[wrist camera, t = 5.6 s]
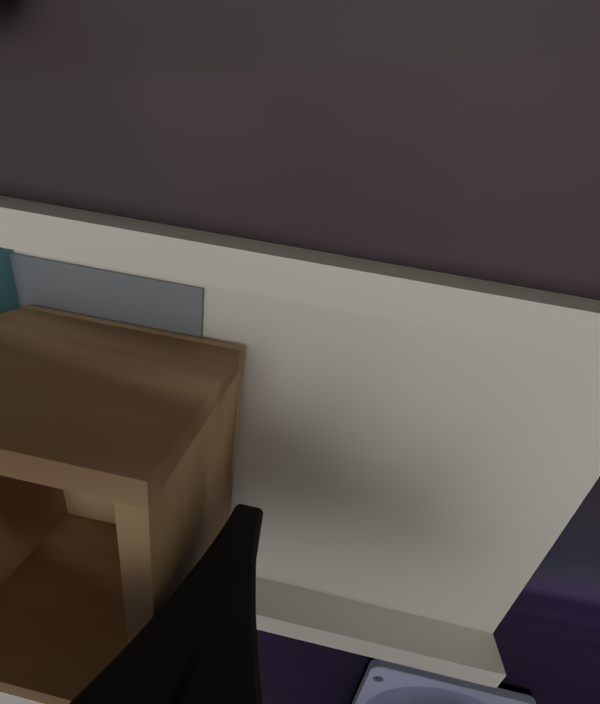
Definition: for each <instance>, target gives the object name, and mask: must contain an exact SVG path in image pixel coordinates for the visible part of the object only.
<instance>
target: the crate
mask: <svg viewBox="0 0 600 704" xmlns="http://www.w3.org/2000/svg"><path fill="white" fill-rule="evenodd" d="M244 355H245V347H244V346H238V345H233V344H228V343H223V342H218V341H213V340H208V339H203V338H197V337H192V336H187V335H182V334H177V333H172V332H167V331H161V330H156V329H151V328H146V327H141V326H136V325H131V324H126V323H120V322H115V321H110V320H105V319H100V318H95V317H90V316H85V315H79V314H74V313H69V312H64V311H59V310H54V309H49V308H43V307H38V306H33V305H26V306H23V307H20V308H17V309H14V310H10V311H7V312H4V313H1V314H0V692H4V693H8V694H11V695H15V696H19V697H22V698H26V699H30V700H33V701H37V702H41V703H45V704H69V703H70V702H71V701H72V700H73V699H74V698H75V697H76V696H77V695H78V694H79V693H80V692H81V691H82V690H84V689H85V688H86V687H87V685H88V684H89V683H90V682H91V681H92V680H93V679H94V678H95V677H96V676H97V675H98V674H99V673H100V672H101V671H102V670H103V669H104V668H105V667H106V666H107V665H108V664H109V663H110V662H111V661H112V660H113V659H114V658H115V657H116V656H117V655H118V654H119V653H120V652H121V651H122V650H123V649H124V648H125V647H126V646H127V645H128V644H129V643H130V642H131V640H132V639H133V638H134V637H135V636H136V635H137V634H138V633H139V632H140V631H141V630H142V629H143V627H144V626H145V625H146V624H147V623H148V622H149V621H150V620H151V619H152V617H153V616H154V615H155V614H156V613H157V612H158V611H159V609H160V608H161V607H162V606H163V605H164V603H165V602H166V601H167V600H168V599H169V598H170V596H171V595H172V594H173V593H174V592H175V590H176V589H177V588H178V587H179V586H180V584H181V583H182V582H183V581H184V580H185V578H186V577H187V576H188V575H189V573H190V572H191V571H192V569H193V568H194V567H195V565H196V564H197V563H198V561H199V560H200V559H201V557H202V556H203V555H204V554H205V552H206V551H207V550H208V548H209V547H210V545H211V544H212V543H213V541H214V540H215V538H216V537H217V535H218V534H219V532H220V531H221V529H222V528H223V526H224V525H225V523H226V522H227V520H228V519H229V517H230V508H231V497H232V486H233V475H234V464H235V453H236V442H237V431H238V420H239V410H240V399H241V388H242V377H243V366H244Z"/></svg>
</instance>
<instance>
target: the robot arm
mask: <svg viewBox="0 0 600 704" xmlns="http://www.w3.org/2000/svg"><path fill="white" fill-rule="evenodd" d="M262 519H263V511H262V510H261V508H257V507H253V506H248V505H244V504H238V505H236V506H235V508H234V510H233V512H232V514H231V515H230V517H229V519H228V520H227V522H226V523H225V525H224V526H223V528H222V529H221V531H220V532H219V534H218V535H217V537H216V538H215V540H214V541H213V543H212V544H211V545H210V547H209V548H208V550H207V551H206V552H205V554H204V555H203V556H202V557H201V559H200V560H199V561H198V563H197V564H196V565H195V567H194V568H193V569H192V571H191V572H190V573H189V575H188V576H187V577H186V578H185V580H184V581H183V582H182V583H181V584H180V586H179V587H178V588H177V589H176V590H175V592H174V593H173V594H172V595H171V596H170V598H169V599H168V600H167V601H166V602H165V603H164V605H163V606H162V607H161V608H160V609H159V611H158V612H157V613H156V614H155V615H154V616H153V617H152V619H151V620H150V621H149V622H148V623H147V624H146V625H145V626H144V627H143V629H142V630H141V631H140V632H139V633H138V634H137V635H136V636H135V637H134V638H133V639H132V640H131V642H130V643H129V644H128V645H127V646H126V647H125V648H124V649H123V650H122V651H121V652H120V653H119V654H118V655H117V656H116V657H115V658H114V659H113V660H112V661H111V662H110V663H109V664H108V665H107V666H106V667H105V668H104V669H103V670H102V671H101V672H100V673H99V674H98V675H97V676H96V677H95V678H94V679H93V680H92V681H91V682H90V683H89V684H88V685H87V687H86V688H85V689H84V690H82V691H81V692H80V693H79V694H78V695H77V696H76V697H75V698H74V699H73V700H72V701H71V702H70V703H69V704H262V697H261V686H260V675H259V662H258V646H257V626H256V557H257V552H258V545H259V539H260V532H261V525H262ZM352 704H536V701H535V699H534V698H533V697H531V696H530V695H527V694H523V693H518V692H514V691H510V690H506V689H502V688H498V687H497V688H493V687H489V686H485V685H481V684H477V683H473V682H469V681H465V680H461V679H457V678H453V677H449V676H445V675H441V674H437V673H433V672H428V671H424V670H420V669H416V668H412V667H408V666H404V665H400V664H396V663H392V662H388V661H384V660H380V659H373V660H372V661H371V662H370V663H369V666H368V668H367V670H366V673H365V675H364V677H363V679H362V682H361V684H360V686H359V688H358V691H357V693H356V695H355V697H354V700H353V702H352Z"/></svg>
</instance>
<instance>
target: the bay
mask: <svg viewBox="0 0 600 704" xmlns="http://www.w3.org/2000/svg"><path fill="white" fill-rule="evenodd" d="M26 305H33V306H38V307H43V308H49V309H54V310H59V311H64V312H69V313H74V314H79V315H85V316H90V317H95V318H100V319H105V320H110V321H115V322H120V323H126V324H131V325H136V326H141V327H146V328H151V329H156V330H161V331H167V332H172V333H177V334H182V335H187V336H192V337H197V338H203V339H208V340H213V341H218V342H223V343H228V344H233V345H238V346H244V347H245V355H244V366H243V377H242V388H241V399H240V410H239V420H238V431H237V442H236V453H235V464H234V475H233V486H232V497H231V508H230V515H231V514H232V512H233V510H234V508H235V506H236V505H238V504H244V505H248V506H253V507H257V508H261V510H262V511H263V519H262V525H261V532H260V539H259V545H258V552H257V557H256V626H257V629H258V630H262V631H266V632H270V633H274V634H278V635H282V636H286V637H290V638H294V639H298V640H302V641H307V642H311V643H315V644H319V645H323V646H327V647H331V648H335V649H339V650H343V651H347V652H351V653H355V654H359V655H363V656H368V657H372V658H376V659H380V660H384V661H388V662H392V663H396V664H400V665H404V666H408V667H412V668H416V669H420V670H424V671H428V672H433V673H437V674H441V675H445V676H449V677H453V678H457V679H461V680H465V681H469V682H473V683H477V684H481V685H485V686H489V687H493V688H497V687H498V685H499V684H500V683H501V681H502V680H503V679H504V678H505V676H506V673H505V670H504V667H503V664H502V661H501V658H500V655H499V652H498V649H497V645H496V642H495V639H494V636H493V632H494V631H495V629H496V628H497V626H498V625H499V623H500V622H501V620H502V619H503V618H504V616H505V615H506V613H507V612H508V610H509V609H510V607H511V606H512V604H513V603H514V601H515V600H516V598H517V597H518V595H519V594H520V593H521V591H522V590H523V588H524V587H525V585H526V584H527V582H528V581H529V579H530V578H531V576H532V575H533V573H534V572H535V570H536V569H537V568H538V566H539V565H540V563H541V562H542V560H543V559H544V557H545V556H546V554H547V553H548V551H549V550H550V548H551V547H552V545H553V544H554V543H555V541H556V540H557V538H558V537H559V535H560V534H561V532H562V531H563V529H564V528H565V526H566V525H567V523H568V522H569V520H570V519H571V518H572V516H573V515H574V513H575V512H576V510H577V509H578V507H579V506H580V504H581V503H582V501H583V500H584V498H585V497H586V495H587V494H588V493H589V491H590V490H591V488H592V487H593V485H594V484H595V482H596V481H597V479H598V478H599V476H600V300H595V299H589V298H583V297H578V296H572V295H566V294H561V293H555V292H549V291H543V290H538V289H532V288H526V287H521V286H515V285H509V284H503V283H498V282H492V281H486V280H481V279H475V278H469V277H463V276H458V275H452V274H446V273H441V272H435V271H429V270H423V269H418V268H412V267H406V266H401V265H395V264H389V263H383V262H378V261H372V260H366V259H361V258H355V257H349V256H343V255H338V254H332V253H326V252H321V251H315V250H309V249H303V248H298V247H292V246H286V245H281V244H275V243H269V242H263V241H258V240H252V239H246V238H241V237H235V236H229V235H224V234H218V233H212V232H206V231H201V230H195V229H189V228H184V227H178V226H172V225H166V224H161V223H155V222H149V221H144V220H138V219H132V218H126V217H121V216H115V215H109V214H104V213H98V212H92V211H86V210H81V209H75V208H69V207H64V206H58V205H52V204H46V203H41V202H35V201H29V200H24V199H18V198H12V197H6V196H1V195H0V314H1V313H4V312H7V311H10V310H14V309H17V308H20V307H23V306H26Z"/></svg>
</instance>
